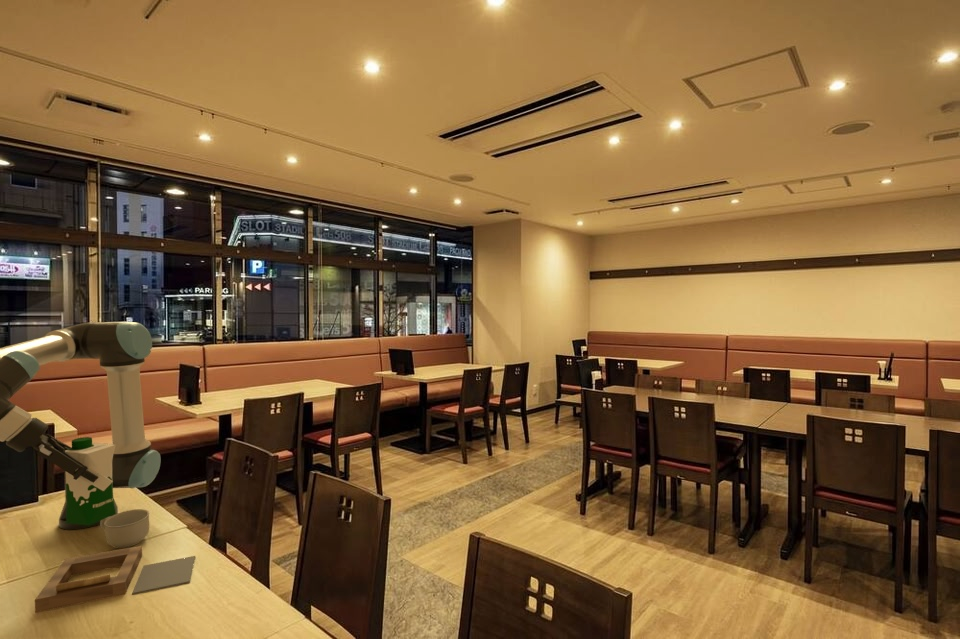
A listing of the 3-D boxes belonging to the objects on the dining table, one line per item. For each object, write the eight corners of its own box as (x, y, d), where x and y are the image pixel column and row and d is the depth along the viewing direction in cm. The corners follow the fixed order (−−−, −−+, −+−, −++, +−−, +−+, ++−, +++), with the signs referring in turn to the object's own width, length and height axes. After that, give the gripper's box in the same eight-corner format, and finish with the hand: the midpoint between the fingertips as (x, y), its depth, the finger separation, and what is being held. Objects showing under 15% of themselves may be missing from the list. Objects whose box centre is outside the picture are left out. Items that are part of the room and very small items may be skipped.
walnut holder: (65, 570, 131) (64, 553, 131) (142, 556, 138) (141, 539, 138) (35, 612, 113) (34, 592, 112) (125, 594, 120) (125, 575, 120)
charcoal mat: (143, 566, 132) (143, 565, 132) (195, 557, 137) (195, 555, 137) (132, 594, 119) (132, 592, 119) (189, 582, 124) (189, 581, 124)
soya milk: (93, 509, 130) (91, 434, 129) (122, 512, 128) (120, 435, 127) (58, 524, 121) (56, 443, 120) (89, 527, 119) (86, 445, 119)
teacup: (158, 538, 149) (157, 511, 149) (122, 555, 139) (121, 526, 138) (125, 531, 153) (124, 505, 153) (87, 547, 143) (87, 520, 143)
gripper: (6, 433, 122) (91, 481, 133) (-1, 453, 106) (96, 507, 116) (34, 409, 125) (114, 458, 136) (32, 425, 109) (123, 479, 120)
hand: (106, 480), depth 126 cm, fingers closed on soya milk, 9 cm apart
